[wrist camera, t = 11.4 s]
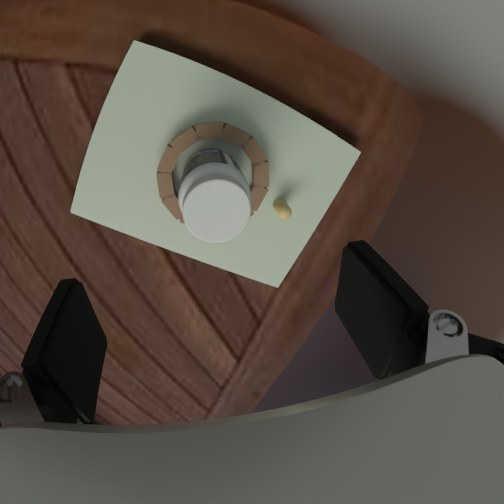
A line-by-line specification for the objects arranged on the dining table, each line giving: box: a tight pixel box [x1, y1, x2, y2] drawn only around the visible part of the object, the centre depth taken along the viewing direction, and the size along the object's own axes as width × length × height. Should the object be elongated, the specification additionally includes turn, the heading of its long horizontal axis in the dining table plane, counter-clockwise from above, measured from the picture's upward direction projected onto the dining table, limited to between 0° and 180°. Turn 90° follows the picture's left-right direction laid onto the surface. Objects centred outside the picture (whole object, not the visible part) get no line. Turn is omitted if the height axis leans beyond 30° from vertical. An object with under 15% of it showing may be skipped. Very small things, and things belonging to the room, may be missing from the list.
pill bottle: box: [178, 148, 251, 243], centre depth 20 cm, size 5×5×8 cm
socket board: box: [70, 40, 361, 288], centre depth 23 cm, size 22×16×3 cm
